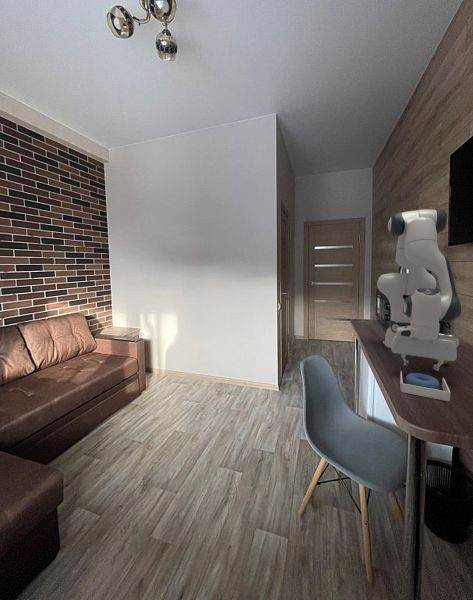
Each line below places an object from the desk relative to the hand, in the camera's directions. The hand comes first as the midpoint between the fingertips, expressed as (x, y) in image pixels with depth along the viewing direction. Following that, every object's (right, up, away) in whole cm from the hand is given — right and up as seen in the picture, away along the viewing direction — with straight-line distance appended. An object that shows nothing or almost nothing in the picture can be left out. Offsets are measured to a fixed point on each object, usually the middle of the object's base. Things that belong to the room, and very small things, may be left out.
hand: (420, 367), depth 102 cm
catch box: (-5, -5, -9) cm, 11 cm away
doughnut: (-5, -6, -7) cm, 10 cm away
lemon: (+19, -3, +15) cm, 25 cm away
